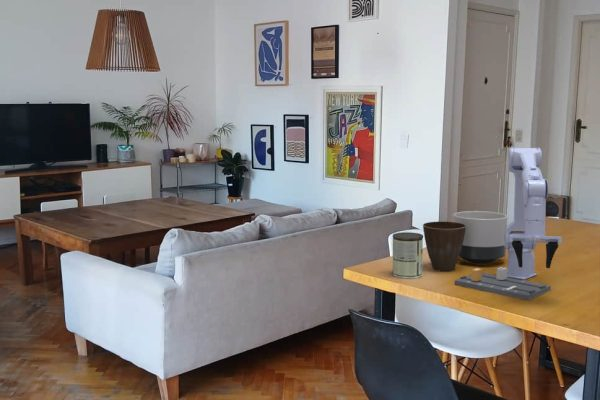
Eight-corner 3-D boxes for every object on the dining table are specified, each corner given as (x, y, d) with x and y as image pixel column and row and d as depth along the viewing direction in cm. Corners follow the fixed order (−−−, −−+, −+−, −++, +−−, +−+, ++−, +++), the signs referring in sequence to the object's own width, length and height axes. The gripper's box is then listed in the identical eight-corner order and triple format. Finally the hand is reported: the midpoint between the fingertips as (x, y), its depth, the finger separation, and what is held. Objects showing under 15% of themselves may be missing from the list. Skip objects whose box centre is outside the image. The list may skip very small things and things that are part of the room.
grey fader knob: (501, 277, 206) (501, 266, 206) (506, 278, 205) (507, 267, 204) (496, 279, 204) (496, 268, 204) (502, 280, 203) (502, 269, 202)
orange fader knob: (476, 278, 205) (476, 267, 205) (481, 279, 204) (482, 268, 203) (471, 280, 203) (471, 269, 203) (476, 281, 202) (477, 270, 201)
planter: (508, 268, 225) (510, 219, 223) (453, 266, 229) (454, 218, 227) (502, 256, 244) (504, 211, 242) (451, 254, 248) (452, 210, 246)
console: (478, 276, 215) (479, 270, 215) (550, 290, 197) (550, 284, 197) (454, 284, 205) (454, 278, 205) (527, 300, 187) (528, 293, 187)
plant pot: (458, 276, 216) (459, 230, 214) (416, 271, 223) (417, 226, 221) (469, 266, 229) (470, 223, 227) (429, 262, 236) (430, 220, 234)
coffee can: (389, 271, 223) (390, 232, 221) (418, 271, 223) (419, 231, 221) (395, 279, 212) (395, 238, 211) (425, 278, 213) (426, 237, 211)
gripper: (511, 220, 181) (510, 267, 181) (564, 221, 179) (563, 269, 178) (507, 220, 188) (506, 265, 188) (558, 221, 185) (557, 267, 185)
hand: (534, 267), depth 183 cm, fingers open, 7 cm apart
